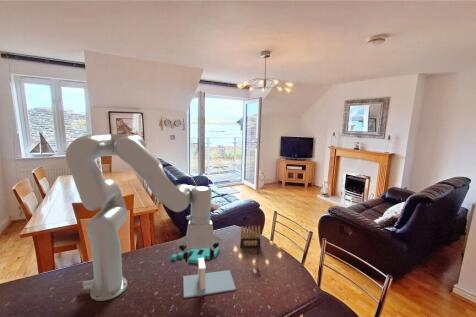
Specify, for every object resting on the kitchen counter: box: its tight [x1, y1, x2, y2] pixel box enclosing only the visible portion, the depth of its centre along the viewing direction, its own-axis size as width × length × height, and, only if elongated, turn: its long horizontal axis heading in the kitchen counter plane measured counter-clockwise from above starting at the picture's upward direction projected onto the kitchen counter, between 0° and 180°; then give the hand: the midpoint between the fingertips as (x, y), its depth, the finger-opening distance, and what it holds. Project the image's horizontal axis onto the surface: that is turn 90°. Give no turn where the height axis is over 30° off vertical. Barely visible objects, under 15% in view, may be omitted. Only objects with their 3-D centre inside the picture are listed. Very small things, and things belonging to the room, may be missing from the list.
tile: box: [197, 258, 207, 290], centre depth 93 cm, size 2×7×9 cm, turn 14°
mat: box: [182, 269, 237, 299], centre depth 94 cm, size 20×12×1 cm, turn 104°
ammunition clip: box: [239, 225, 261, 249], centre depth 123 cm, size 11×2×12 cm, turn 94°
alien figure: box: [170, 241, 220, 265], centre depth 118 cm, size 20×2×20 cm
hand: (198, 259), depth 92 cm, fingers open, 9 cm apart
